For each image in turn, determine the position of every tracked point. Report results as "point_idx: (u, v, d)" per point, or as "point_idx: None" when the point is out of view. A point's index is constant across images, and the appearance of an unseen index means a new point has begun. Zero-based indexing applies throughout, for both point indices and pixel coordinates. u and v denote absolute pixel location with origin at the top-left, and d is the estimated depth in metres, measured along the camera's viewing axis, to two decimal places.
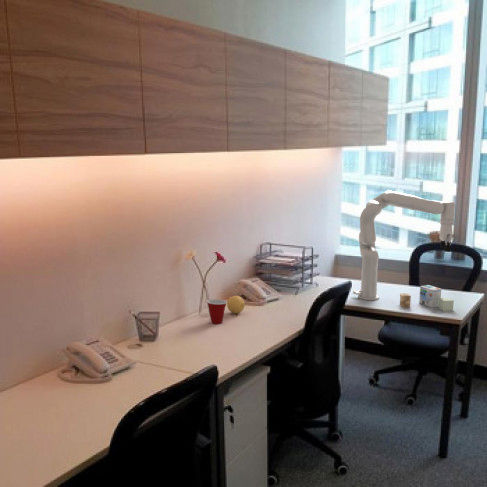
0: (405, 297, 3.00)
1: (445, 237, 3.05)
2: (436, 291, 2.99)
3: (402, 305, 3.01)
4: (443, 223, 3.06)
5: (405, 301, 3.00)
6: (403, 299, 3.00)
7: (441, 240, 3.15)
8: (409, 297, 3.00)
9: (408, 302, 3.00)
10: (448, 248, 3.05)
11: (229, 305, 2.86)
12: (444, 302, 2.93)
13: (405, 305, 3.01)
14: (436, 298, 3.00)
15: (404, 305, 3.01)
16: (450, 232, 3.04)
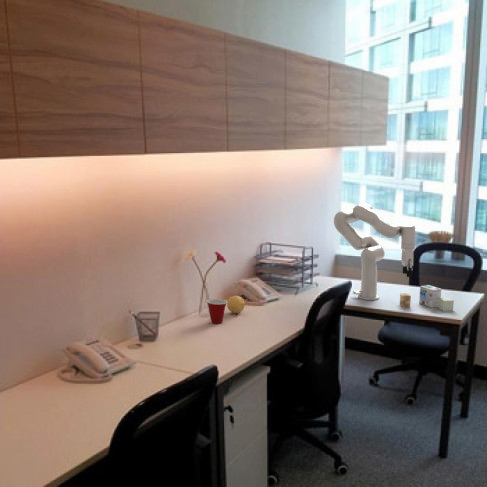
0: (405, 297, 3.00)
1: (406, 262, 2.96)
2: (436, 291, 2.99)
3: (402, 305, 3.01)
4: (404, 248, 2.97)
5: (405, 301, 3.00)
6: (403, 299, 3.00)
7: (403, 265, 3.06)
8: (409, 297, 3.00)
9: (408, 302, 3.00)
10: (410, 273, 2.96)
11: (229, 305, 2.86)
12: (444, 302, 2.93)
13: (405, 305, 3.01)
14: (436, 298, 3.00)
15: (404, 305, 3.01)
16: (411, 257, 2.95)
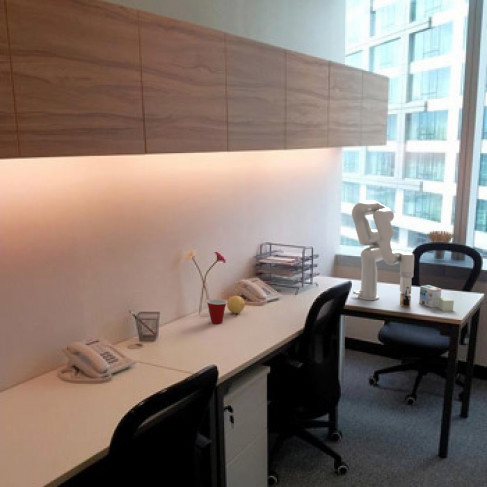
0: None
1: (404, 290, 2.97)
2: (436, 291, 2.99)
3: (402, 305, 3.01)
4: (402, 275, 2.98)
5: None
6: (403, 299, 3.00)
7: None
8: (409, 297, 3.00)
9: None
10: (406, 302, 2.99)
11: (229, 305, 2.86)
12: (444, 302, 2.93)
13: None
14: (436, 298, 3.00)
15: None
16: (409, 285, 2.96)
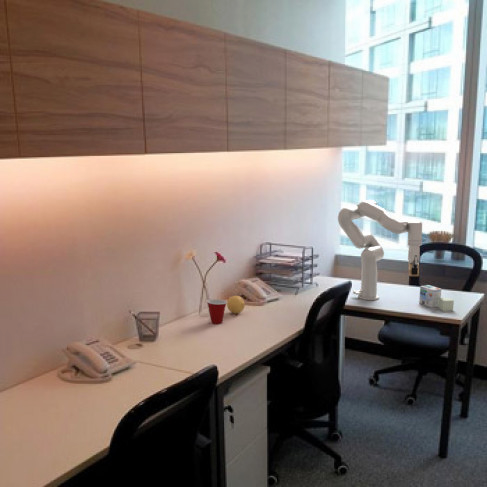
0: None
1: (412, 258, 2.94)
2: (436, 291, 2.99)
3: (410, 274, 2.98)
4: (410, 244, 2.96)
5: None
6: (411, 268, 2.98)
7: None
8: None
9: None
10: (415, 271, 2.96)
11: (229, 305, 2.86)
12: (444, 302, 2.93)
13: None
14: (436, 298, 3.00)
15: None
16: (417, 253, 2.94)
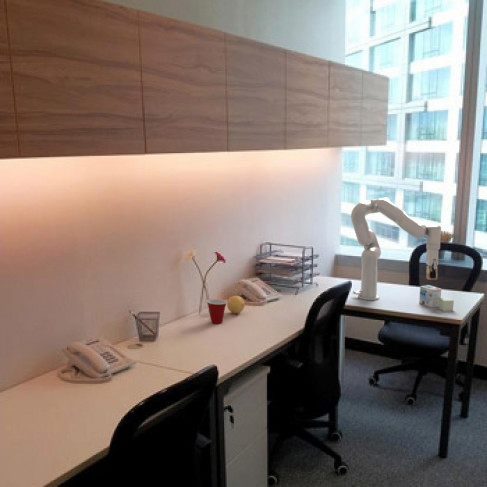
0: None
1: (431, 262, 2.96)
2: (436, 291, 2.99)
3: (429, 277, 3.01)
4: (429, 248, 2.98)
5: None
6: None
7: None
8: (436, 269, 2.99)
9: None
10: (433, 274, 2.99)
11: (229, 305, 2.86)
12: (444, 302, 2.93)
13: None
14: (436, 298, 3.00)
15: None
16: (436, 257, 2.96)
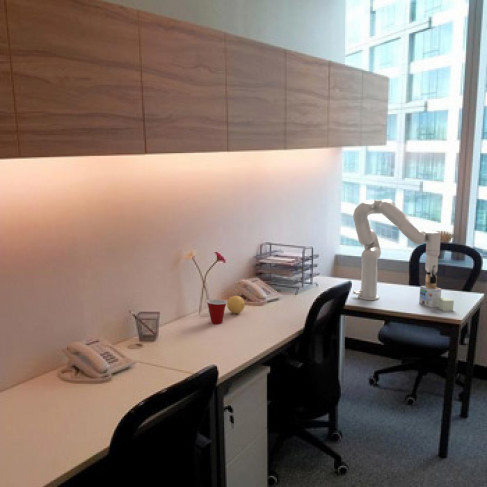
0: None
1: (430, 268, 2.97)
2: (436, 291, 2.99)
3: (428, 286, 3.02)
4: (428, 254, 2.98)
5: None
6: (429, 280, 3.01)
7: (427, 271, 3.07)
8: None
9: None
10: (433, 280, 2.98)
11: (229, 305, 2.86)
12: (444, 302, 2.93)
13: (431, 286, 3.01)
14: (436, 298, 3.00)
15: (430, 286, 3.01)
16: (436, 263, 2.97)
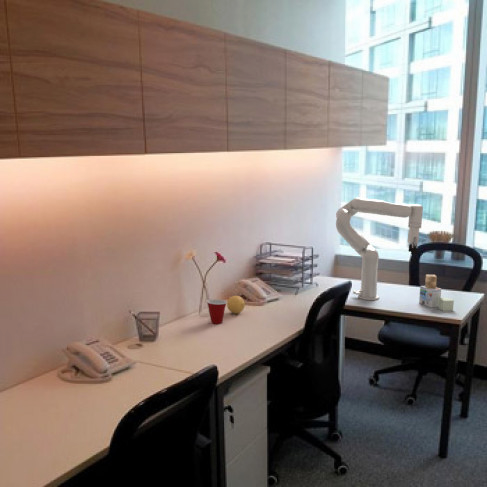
0: (431, 278, 3.01)
1: (412, 240, 3.08)
2: (436, 291, 2.99)
3: (428, 286, 3.02)
4: (410, 226, 3.09)
5: (431, 282, 3.01)
6: (429, 280, 3.01)
7: None
8: (435, 278, 3.00)
9: (434, 283, 3.01)
10: (414, 251, 3.08)
11: (229, 305, 2.86)
12: (444, 302, 2.93)
13: (431, 286, 3.01)
14: (436, 298, 3.00)
15: (430, 286, 3.01)
16: (417, 235, 3.07)
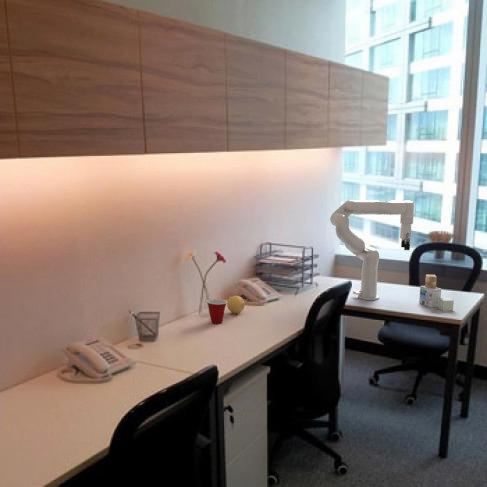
0: (431, 278, 3.01)
1: (404, 236, 3.13)
2: (436, 291, 2.99)
3: (428, 286, 3.02)
4: (402, 222, 3.15)
5: (431, 282, 3.01)
6: (429, 280, 3.01)
7: (402, 239, 3.23)
8: (435, 278, 3.00)
9: (434, 283, 3.01)
10: (407, 247, 3.13)
11: (229, 305, 2.86)
12: (444, 302, 2.93)
13: (431, 286, 3.01)
14: (436, 298, 3.00)
15: (430, 286, 3.01)
16: (409, 231, 3.13)
